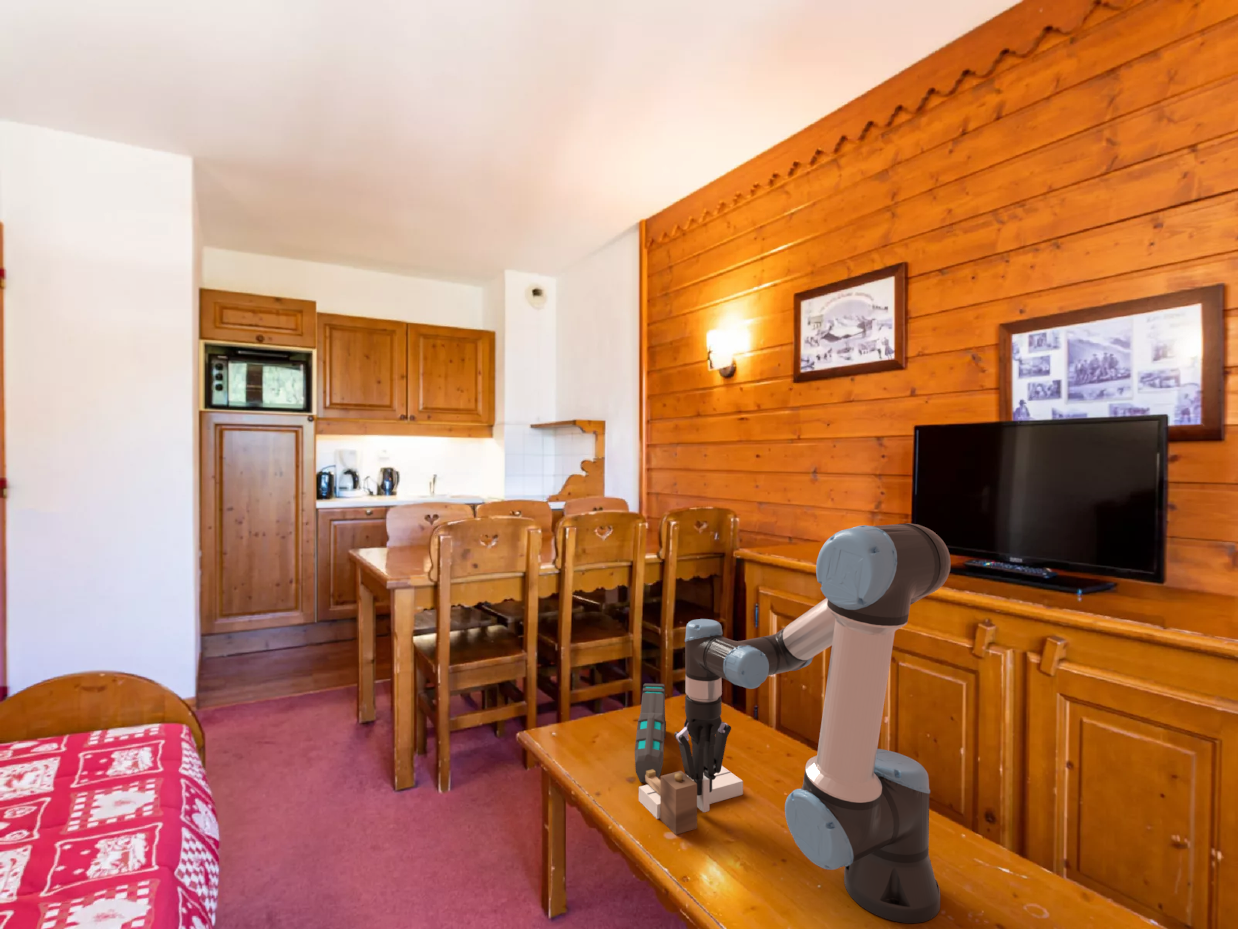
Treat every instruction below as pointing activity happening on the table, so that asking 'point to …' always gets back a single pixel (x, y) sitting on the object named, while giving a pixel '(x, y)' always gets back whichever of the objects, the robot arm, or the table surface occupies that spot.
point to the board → (722, 789)
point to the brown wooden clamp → (675, 800)
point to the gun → (650, 731)
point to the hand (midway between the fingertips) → (702, 808)
